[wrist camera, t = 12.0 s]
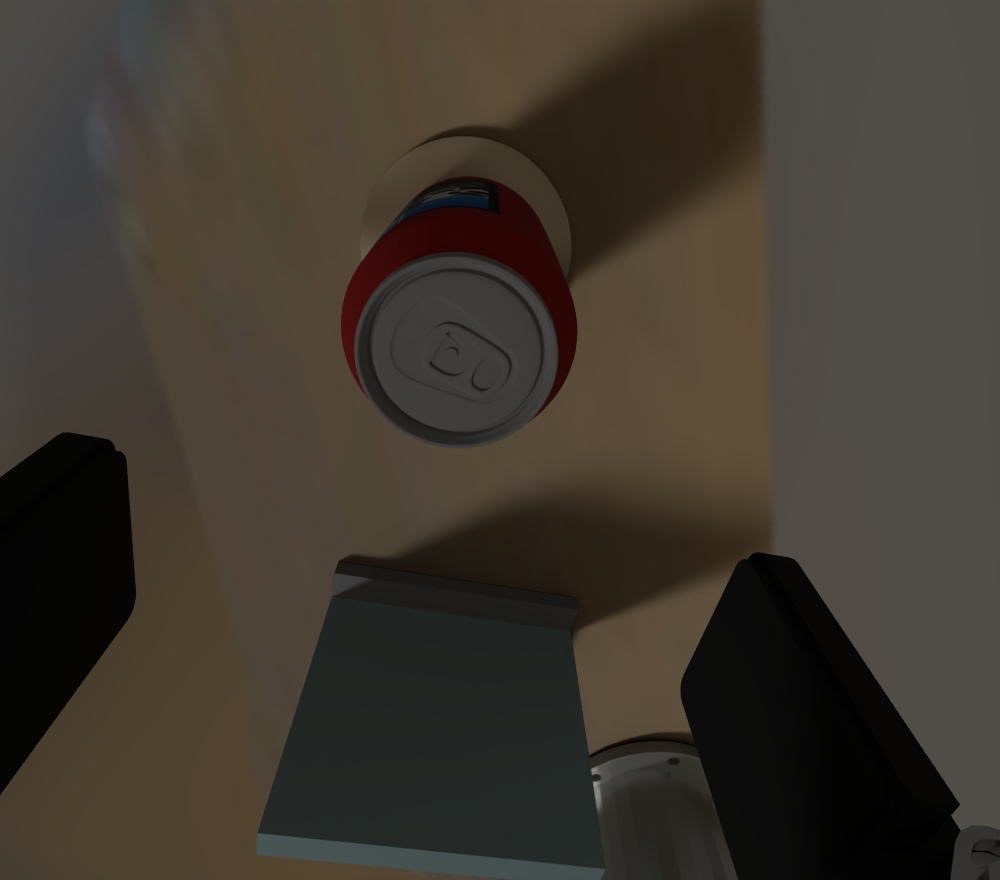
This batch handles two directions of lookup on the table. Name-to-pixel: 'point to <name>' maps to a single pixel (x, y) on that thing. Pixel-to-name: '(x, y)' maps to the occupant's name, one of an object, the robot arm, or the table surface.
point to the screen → (439, 735)
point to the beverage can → (460, 316)
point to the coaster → (466, 160)
